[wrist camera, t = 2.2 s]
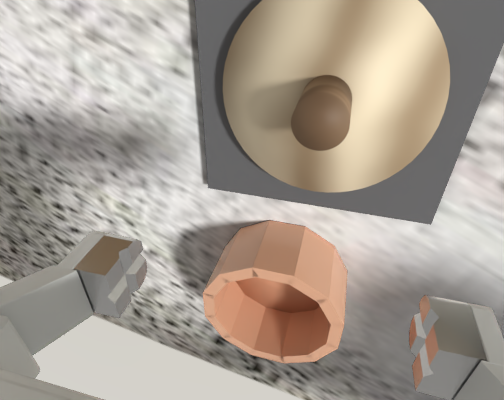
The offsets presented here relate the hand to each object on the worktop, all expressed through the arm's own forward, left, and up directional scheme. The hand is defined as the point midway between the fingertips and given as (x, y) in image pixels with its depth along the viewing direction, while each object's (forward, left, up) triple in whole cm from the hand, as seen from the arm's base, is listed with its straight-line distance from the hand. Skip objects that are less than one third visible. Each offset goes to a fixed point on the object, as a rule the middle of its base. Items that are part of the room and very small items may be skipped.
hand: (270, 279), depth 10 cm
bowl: (+2, +18, -17) cm, 25 cm away
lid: (0, 0, -17) cm, 17 cm away
